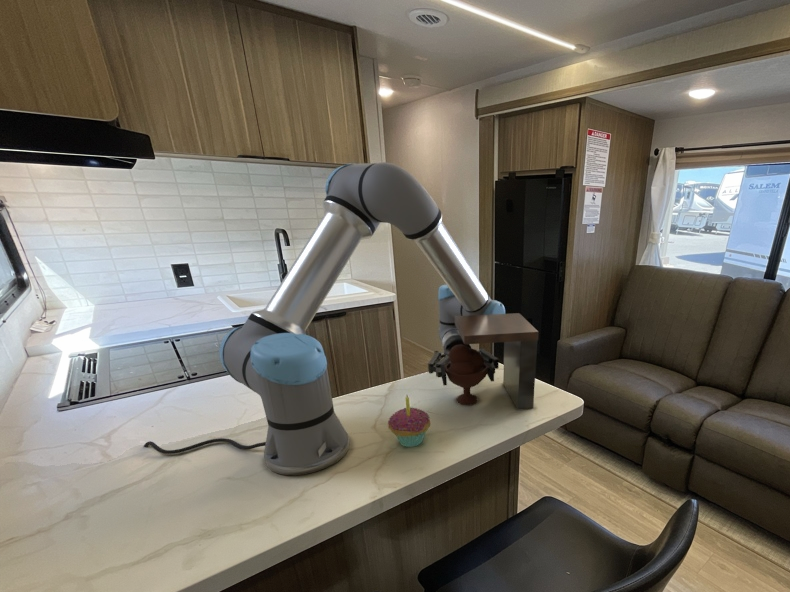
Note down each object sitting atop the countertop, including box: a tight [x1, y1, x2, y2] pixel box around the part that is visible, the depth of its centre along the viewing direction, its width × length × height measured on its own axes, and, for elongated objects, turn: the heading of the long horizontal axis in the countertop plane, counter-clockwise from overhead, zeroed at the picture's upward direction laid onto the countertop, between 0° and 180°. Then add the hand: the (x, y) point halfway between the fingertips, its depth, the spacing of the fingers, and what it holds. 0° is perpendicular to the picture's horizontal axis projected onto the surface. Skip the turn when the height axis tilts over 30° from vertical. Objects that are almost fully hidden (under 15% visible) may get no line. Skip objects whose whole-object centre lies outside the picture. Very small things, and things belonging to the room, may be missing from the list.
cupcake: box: [387, 394, 431, 448], centre depth 83 cm, size 9×8×12 cm
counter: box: [455, 312, 540, 411], centre depth 100 cm, size 17×16×20 cm
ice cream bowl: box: [444, 344, 489, 406], centre depth 99 cm, size 11×11×15 cm
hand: (469, 378), depth 96 cm, fingers closed on ice cream bowl, 11 cm apart
